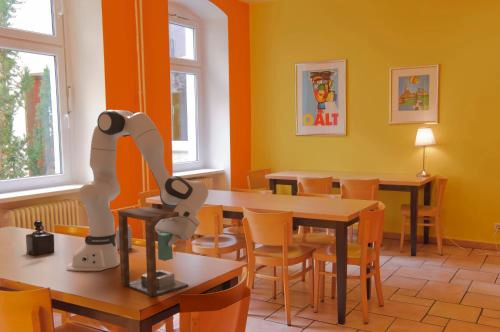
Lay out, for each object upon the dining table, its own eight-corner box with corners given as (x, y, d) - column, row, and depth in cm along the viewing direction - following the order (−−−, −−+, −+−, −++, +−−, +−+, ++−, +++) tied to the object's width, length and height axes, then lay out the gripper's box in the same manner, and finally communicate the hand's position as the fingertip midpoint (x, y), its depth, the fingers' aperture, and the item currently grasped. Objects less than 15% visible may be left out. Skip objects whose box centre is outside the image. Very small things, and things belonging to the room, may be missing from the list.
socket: (157, 276, 202) (157, 265, 202) (188, 286, 188) (188, 275, 188) (124, 285, 191) (123, 274, 190) (153, 297, 177) (153, 285, 176)
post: (166, 257, 195) (165, 232, 194) (172, 258, 192) (171, 233, 192) (158, 259, 192) (157, 234, 191) (164, 260, 189) (163, 235, 189)
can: (118, 247, 254) (117, 224, 253) (133, 246, 254) (132, 224, 253) (115, 250, 246) (114, 227, 245) (130, 250, 247) (129, 226, 246)
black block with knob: (24, 253, 245) (22, 217, 243) (46, 249, 252) (45, 214, 251) (36, 258, 234) (35, 221, 232) (59, 254, 241) (57, 218, 240)
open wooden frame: (149, 276, 199) (146, 206, 197) (180, 287, 185) (178, 212, 183) (120, 283, 190) (117, 211, 188) (151, 296, 175) (149, 217, 173)
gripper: (162, 209, 203) (143, 236, 197) (194, 214, 189) (174, 243, 183) (171, 218, 207) (153, 245, 200) (203, 224, 192) (184, 253, 186)
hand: (163, 244), depth 191 cm, fingers closed on post, 4 cm apart
